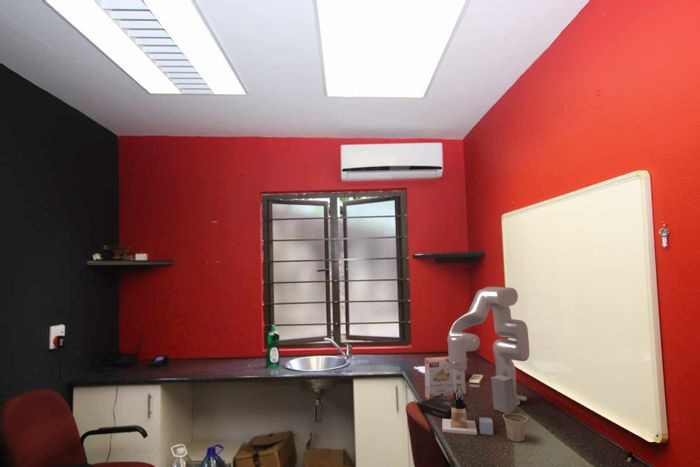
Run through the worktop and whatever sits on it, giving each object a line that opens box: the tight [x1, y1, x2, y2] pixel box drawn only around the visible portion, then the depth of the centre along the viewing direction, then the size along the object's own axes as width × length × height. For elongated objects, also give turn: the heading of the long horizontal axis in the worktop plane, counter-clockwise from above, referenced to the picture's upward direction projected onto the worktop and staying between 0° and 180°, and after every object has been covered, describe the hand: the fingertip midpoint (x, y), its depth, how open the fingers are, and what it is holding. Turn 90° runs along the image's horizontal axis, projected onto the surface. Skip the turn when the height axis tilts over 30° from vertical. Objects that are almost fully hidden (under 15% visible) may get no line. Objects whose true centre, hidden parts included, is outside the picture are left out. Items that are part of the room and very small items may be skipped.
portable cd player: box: [417, 396, 468, 420], centre depth 201 cm, size 16×17×4 cm
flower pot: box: [502, 412, 528, 443], centre depth 168 cm, size 9×9×9 cm
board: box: [441, 418, 478, 436], centre depth 180 cm, size 14×12×1 cm
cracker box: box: [424, 356, 454, 400], centre depth 219 cm, size 14×6×21 cm, turn 105°
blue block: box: [478, 416, 494, 436], centre depth 175 cm, size 5×5×5 cm
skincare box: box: [490, 375, 517, 414], centre depth 201 cm, size 8×7×16 cm
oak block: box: [451, 408, 467, 428], centre depth 180 cm, size 6×6×6 cm
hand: (459, 404), depth 181 cm, fingers open, 9 cm apart
